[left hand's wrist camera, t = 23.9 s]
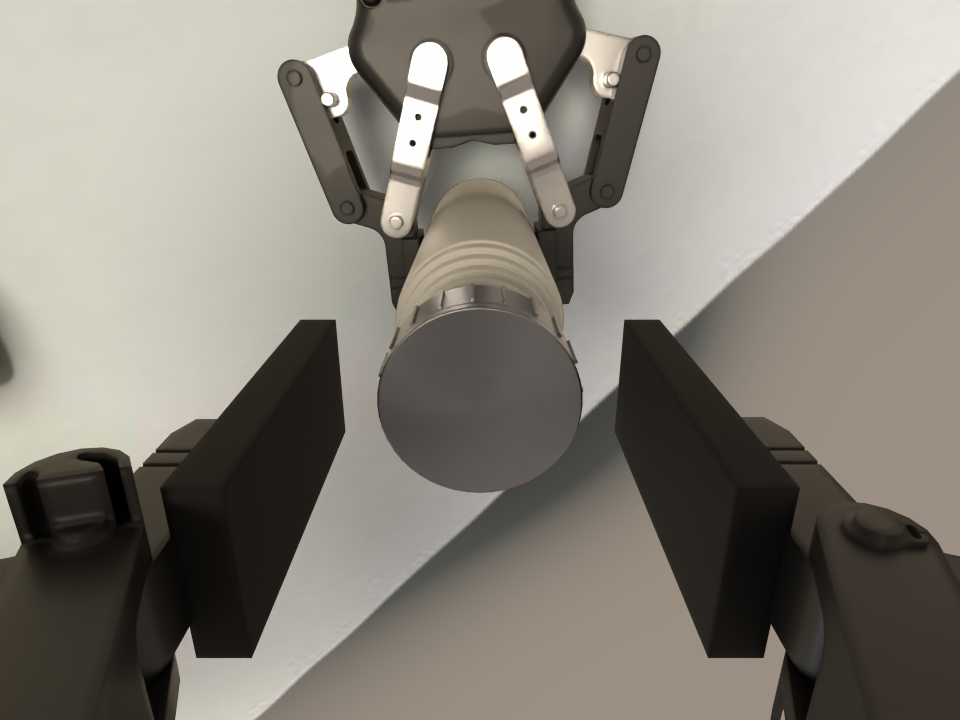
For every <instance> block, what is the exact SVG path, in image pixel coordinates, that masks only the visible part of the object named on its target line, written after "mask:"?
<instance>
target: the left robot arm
mask: <svg viewBox="0 0 960 720" xmlns="http://www.w3.org/2000/svg"><path fill="white" fill-rule="evenodd" d="M615 433H616V436H617V438H618V441H619V443H620V445H621V448H622V450H623V453H624V455H625V458H626V460H627V462H628V465H629V467H630V470H631V472H632V475H633V477H634V479H635V482H636V484H637V487H638V489H639V492H640V494H641V496H642V499H643V501H644V504H645V506H646V508H647V511H648V513H649V516H650V518H651V521H652V523H653V525H654V528H655V530H656V533H657V535H658V537H659V540H660V542H661V545H662V547H663V550H664V552H665V554H666V557H667V559H668V562H669V564H670V566H671V569H672V571H673V574H674V576H675V579H676V581H677V583H678V586H679V588H680V591H681V593H682V596H683V598H684V600H685V603H686V605H687V608H688V610H689V612H690V615H691V617H692V620H693V622H694V625H695V627H696V629H697V632H698V634H699V637H700V639H701V641H702V644H703V646H704V649H705V651H706V654H707V656H708V658H763V657H764V653H765V649H766V644H767V639H768V635H769V630H770V626H771V625H772V626H773V628H774V630H775V632H776V634H777V635H778V637H779V639H780V641H781V643H782V644H783V646H784V648H785V650H786V652H785V656H784V660H783V665H782V669H781V673H780V678H779V682H778V686H777V691H776V695H775V699H774V704H773V708H772V714H771V720H780V719H781V715H782V711H783V710H784V714H785V720H960V556H955V555H950V554H946V553H943V551H942V549H941V547H940V545H939V543H938V542H937V541H936V540H935V539H934V538H933V536H932V535H931V534H930V533H929V532H928V530H926V529H925V528H923V527H922V526H920V525H919V524H917V523H916V522H914V521H913V520H911V519H910V518H908V517H905V516H903V515H901V514H898V513H896V512H894V511H891V510H889V509H886V508H882V507H878V506H874V505H870V504H866V503H857V502H856V501H855V500H854V499H853V498H852V497H851V496H850V495H849V494H848V493H847V492H846V491H845V490H844V488H843V487H842V486H841V485H840V484H839V483H838V482H837V481H836V480H835V479H834V478H833V477H832V476H831V475H830V474H829V473H828V472H827V471H826V470H825V468H824V467H823V466H822V465H818V464H817V460H816V459H815V458H814V457H813V456H812V455H811V454H810V453H809V452H808V451H805V449H804V446H803V445H802V444H801V443H800V442H799V441H798V440H797V439H796V438H795V437H794V436H793V435H792V434H791V433H790V432H789V431H788V430H786V429H784V428H783V427H781V426H779V425H777V424H775V423H774V422H772V421H770V420H768V419H766V418H764V417H740V415H739V414H738V413H737V412H736V411H735V409H734V408H733V407H732V406H731V405H730V403H729V402H728V401H727V400H726V399H725V397H724V396H723V395H722V394H721V393H720V392H719V390H718V389H717V388H716V387H715V386H714V384H713V383H712V382H711V381H710V380H709V378H708V377H707V376H706V375H705V374H704V372H703V371H702V370H701V369H700V368H699V367H698V365H697V364H696V363H695V362H694V360H693V359H692V358H691V357H690V356H689V355H688V353H687V352H686V351H685V350H684V349H683V347H682V346H681V345H680V344H679V343H678V341H677V340H676V339H675V338H674V337H673V335H672V334H671V333H670V332H669V331H668V329H667V328H666V327H665V326H664V325H663V323H662V322H661V321H660V320H624V331H623V342H622V353H621V365H620V376H619V388H618V399H617V411H616V422H615ZM344 434H345V422H344V410H343V399H342V388H341V376H340V365H339V353H338V342H337V331H336V320H300V321H299V322H298V324H297V325H296V326H295V327H294V328H293V329H292V331H291V332H290V333H289V334H288V335H287V337H286V338H285V339H284V340H283V341H282V343H281V344H280V345H279V346H278V347H277V349H276V350H275V351H274V352H273V353H272V355H271V356H270V357H269V358H268V359H267V360H266V362H265V363H264V364H263V365H262V366H261V368H260V369H259V370H258V371H257V372H256V374H255V375H254V376H253V377H252V378H251V380H250V381H249V382H248V383H247V384H246V386H245V387H244V388H243V389H242V390H241V392H240V393H239V394H238V395H237V396H236V397H235V399H234V400H233V401H232V402H231V403H230V405H229V406H228V407H227V408H226V409H225V411H224V412H223V413H222V414H221V415H220V417H219V418H218V419H196V420H194V421H192V422H191V423H189V424H187V425H185V426H184V427H182V428H180V429H178V430H176V431H175V432H173V433H171V434H170V435H169V436H168V437H167V439H166V440H165V441H164V442H163V443H162V444H161V445H160V446H159V447H158V448H157V449H156V453H152V454H151V456H150V457H149V458H148V459H147V460H146V461H145V462H144V463H143V467H139V468H138V469H137V470H136V471H135V472H134V474H133V471H132V466H131V462H130V458H129V456H128V455H126V454H125V453H123V452H122V451H120V450H115V449H109V448H85V449H78V450H73V451H68V452H64V453H59V454H56V455H53V456H50V457H47V458H45V459H42V460H39V461H36V462H34V463H32V464H30V465H28V466H27V467H25V468H23V469H21V470H20V471H18V472H16V473H15V474H14V475H12V476H11V477H10V478H9V479H8V480H7V481H6V482H5V483H4V484H3V487H4V491H5V494H6V497H7V500H8V503H9V506H10V509H11V512H12V515H13V519H14V522H15V525H16V528H17V531H18V534H19V537H20V540H21V543H22V545H21V546H20V548H19V550H18V552H17V554H16V556H14V557H10V558H5V559H0V720H175V715H176V708H177V700H178V692H179V684H180V677H179V670H178V665H177V660H176V656H175V651H176V650H177V648H178V646H179V644H180V642H181V641H182V639H183V637H184V635H185V633H186V632H187V630H188V628H189V626H190V630H191V635H192V639H193V644H194V649H195V653H196V658H252V656H253V654H254V651H255V649H256V646H257V644H258V642H259V639H260V637H261V634H262V632H263V629H264V627H265V625H266V622H267V620H268V617H269V615H270V612H271V610H272V608H273V605H274V603H275V600H276V598H277V596H278V593H279V591H280V588H281V586H282V583H283V581H284V579H285V576H286V574H287V571H288V569H289V567H290V564H291V562H292V559H293V557H294V554H295V552H296V550H297V547H298V545H299V542H300V540H301V538H302V535H303V533H304V530H305V528H306V525H307V523H308V521H309V518H310V516H311V513H312V511H313V508H314V506H315V504H316V501H317V499H318V496H319V494H320V492H321V489H322V487H323V484H324V482H325V479H326V477H327V475H328V472H329V470H330V467H331V465H332V463H333V460H334V458H335V455H336V453H337V450H338V448H339V446H340V443H341V441H342V438H343V436H344Z"/></svg>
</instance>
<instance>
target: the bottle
mask: <svg viewBox="0 0 960 720" xmlns="http://www.w3.org/2000/svg"><path fill="white" fill-rule="evenodd" d="M471 283H475V285H487V286H496V287H502V285H503V286H506V289H509V290H512V291H515V292H518V293H520V294H522V295H524V296H526V297H528V298H530V297H532V298H534V301H535V302H536V303H537V304H539V305H540V306H541V307H542V308H543V309H544V310H545V311H547V312H548V313H549V314H550V316H551V317H553V316H555V317H556V319H557V322H558V325H559V327H560V329H561V331H562V332H563V324H564V314H563V305H562V301H561V297H560V294H559V291H558V289H557V286H556V284H555V282H554V279H553V277H552V274H551V272H550V270H549V267H548V265H547V263H546V260H545V258H544V255H543V253H542V251H541V248H540V246H539V244H538V241H537V239H536V237H535V234H534V232H533V229H532V227H531V225H530V222H529V220H528V218H527V215H526V213H525V211H524V208H523V206H522V204H521V202H520V200H519V199H518V198H517V196H516V195H515V194H514V193H513V192H512V191H511V190H510V189H509V188H507V187H506V186H504V185H503V184H501V183H498V182H496V181H493V180H489V179H471V180H467V181H464V182H461V183H459V184H457V185H456V186H454V187H453V188H451V189H450V190H449V191H448V192H447V193H446V194H445V195H444V196H443V198H442V199H441V200H440V202H439V204H438V206H437V208H436V210H435V213H434V215H433V217H432V220H431V222H430V225H429V227H428V229H427V232H426V234H425V236H424V239H423V241H422V243H421V246H420V248H419V250H418V253H417V255H416V258H415V260H414V262H413V265H412V267H411V269H410V272H409V274H408V276H407V279H406V281H405V283H404V286H403V288H402V291H401V294H400V296H399V300H398V305H397V313H396V325H397V327H399V328H400V327H401V326H402V324H403V323H404V321H405V320H406V319H407V318H408V317H409V315H410V314H411V313H412V312H413V310H414V307H415V306H416V305H418V306H420V305H421V304H423V303H424V302H426V301H427V300H429V299H430V298H432V297H434V296H436V295H438V294H440V291H441V290H444V291H448V290H451V289H454V288H459V287H464V286H470V285H471Z"/></svg>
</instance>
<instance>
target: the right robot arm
mask: <svg viewBox="0 0 960 720" xmlns="http://www.w3.org/2000/svg"><path fill="white" fill-rule="evenodd" d="M660 53H661V51H660V46H659V44H658V42H657V41H656V40H655V39H654V38H653V37H651V36H648V35H642V36H638V37H634V38H626V37H621V36H617V35H612V34H608V33H603V32H599V31H594V30H590V29H586V27H585V22H584V19H583V17H582V15H581V13H580V11H579V10H578V8H577V6H576V3H575V0H357V8H356V16H355V20H354V24H353V27H352V29H351V32H350V34H349V39H348V46H346V47H344V48H341V49H339V50H336V51H333V52H331V53H328V54H326V55H323V56H320V57H318V58H315V59H313V60H310V61H307V62H303V61H299V60H288V61H285V62H284V63H283V64H282V65H281V66H280V68H279V70H278V82H279V85H280V87H281V90H282V92H283V95H284V97H285V99H286V102H287V104H288V107H289V109H290V111H291V114H292V116H293V119H294V121H295V123H296V126H297V128H298V131H299V133H300V135H301V138H302V140H303V143H304V145H305V148H306V150H307V152H308V155H309V157H310V160H311V162H312V164H313V167H314V169H315V172H316V174H317V176H318V179H319V181H320V184H321V186H322V188H323V191H324V193H325V196H326V198H327V200H328V203H329V205H330V208H331V210H332V212H333V215H334V216H335V218H336V219H337V220H338V221H340V222H342V223H345V224H353V223H355V224H358V225H362V226H365V227H368V228H371V229H374V230H376V231H377V232H378V233H379V234H380V235H381V236H382V238H383V240H384V242H385V246H386V255H387V263H388V271H389V278H390V288H391V297H392V303H393V305H394V307H395V309H396V310H397V305H398V300H399V296H400V294H401V291H402V288H403V286H404V283H405V281H406V279H407V276H408V274H409V272H410V269H411V267H412V265H413V262H414V260H415V258H416V255H417V253H418V250H419V248H420V246H421V243H422V241H423V239H424V230H423V229H418V223H417V216H418V211H419V207H420V203H421V198H422V194H423V190H424V185H425V181H426V177H427V174H428V170H429V166H430V162H431V158H432V154H433V150H434V149H441V148H453V147H455V146H458V145H461V144H464V143H467V142H469V141H479V142H484V143H488V144H493V145H499V144H514V143H515V145H516V148H517V150H518V153H519V156H520V158H521V161H522V163H523V166H524V168H525V171H526V173H527V176H528V179H529V181H530V184H531V187H532V189H533V192H534V195H535V197H536V200H537V203H538V209H539V222H534V234H535V237H536V239H537V241H538V244H539V246H540V248H541V251H542V253H543V255H544V258H545V260H546V263H547V265H548V267H549V270H550V272H551V274H552V277H553V279H554V282H555V284H556V286H557V289H558V291H559V294H560V297H561V301H562V304H569V302H570V299H571V297H572V294H573V292H574V288H573V229H574V226H575V224H576V222H577V221H578V220H579V219H580V218H581V217H582V216H584V215H586V214H588V213H590V212H592V211H595V210H597V209H599V208H610V207H613V206H614V205H616V204H617V203H618V202H619V201H620V199H621V198H622V195H623V191H624V187H625V184H626V180H627V176H628V173H629V169H630V165H631V162H632V158H633V154H634V151H635V147H636V143H637V140H638V136H639V132H640V129H641V125H642V122H643V118H644V114H645V111H646V107H647V103H648V100H649V96H650V92H651V89H652V85H653V81H654V78H655V74H656V70H657V67H658V63H659V59H660ZM578 59H581V60H582V61H584V62H585V63H586V65H587V66H588V69H589V72H590V78H589V85H590V89H591V91H592V92H593V93H594V94H595V95H596V96H598V97H600V98H603V99H602V103H601V107H600V111H599V115H598V119H597V123H596V127H595V131H594V135H593V139H592V143H591V147H590V151H589V156H588V160H587V164H586V168H585V172H584V175H583V176H580V177H578V178H576V179H574V180H572V181H569V182H566V179H565V176H564V173H563V171H562V168H561V165H560V161H559V157H558V153H557V150H556V147H555V145H554V142H553V139H552V136H551V133H550V131H549V128H548V125H547V122H546V119H545V116H544V113H545V111H546V110H547V108H548V106H549V105H550V103H551V102H552V100H553V98H554V97H555V95H556V94H557V92H558V90H559V89H560V87H561V86H562V84H563V82H564V81H565V79H566V78H567V76H568V74H569V73H570V71H571V70H572V68H573V66H574V65H575V63H576V61H577V60H578ZM358 75H360V76H361V77H362V78H363V80H364V81H365V82H366V83H367V85H368V86H369V87H370V88H371V89H372V91H373V92H374V93H375V94H376V95H377V97H378V98H379V99H380V100H381V102H382V103H383V104H384V105H385V106H386V108H387V109H388V110H389V111H390V112H391V114H392V115H393V116H394V117H395V119H396V120H397V121H398V122H399V128H398V132H397V137H396V142H395V147H394V151H393V156H392V161H391V166H390V177H389V182H388V187H387V192H386V194H383V193H380V192H376V191H373V190H370V188H369V186H368V183H367V180H366V178H365V175H364V173H363V170H362V168H361V165H360V162H359V160H358V157H357V155H356V152H355V150H354V147H353V145H352V142H351V139H350V137H349V134H348V132H347V129H346V127H345V124H344V121H343V119H342V116H344V115H345V114H347V113H348V112H349V111H350V109H351V107H352V95H351V84H352V81H353V80H354V78H355V77H356V76H358Z"/></svg>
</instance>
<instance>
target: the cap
mask: <svg viewBox="0 0 960 720" xmlns="http://www.w3.org/2000/svg"><path fill="white" fill-rule="evenodd" d="M389 349H390V351H389V353H386V356H385V359H384V361H383V364H382V367H381V369H380V372H379V377H380V380H379V386H378V394H377V406H378V413H379V418H380V422H381V426H382V429H383V431H384V433H385V436H386V438H387V440H388V442H389V443H390V445H391V446H392V448H393V450H394V451H395V452H396V453H397V455H398V456H399V457H400V458H401V460H402V461H404V462H405V463H406V464H407V465H408V466H409V467H410V468H411V469H412V470H414V471H415V472H416V473H418V474H419V475H421V476H422V477H424V478H426V479H428V480H429V481H431V482H434V483H436V484H438V485H441V486H443V487H447V488H450V489H454V490H459V491H465V492H477V493H483V492H495V491H501V490H506V489H510V488H513V487H517V486H519V485H521V484H524V483H526V482H529V481H530V480H532V479H534V478H536V477H538V476H539V475H541V474H542V473H543V472H545V471H546V470H548V469H549V468H550V467H551V466H552V465H553V464H554V463H555V462H556V461H557V460H558V459H559V458H560V457H561V456H562V454H563V453H564V452H565V451H566V449H567V448H568V446H569V445H570V443H571V441H572V440H573V437H574V435H575V433H576V431H577V428H578V425H579V421H580V418H581V412H582V392H583V388H582V385H581V381H580V378H579V374H578V371H577V368H576V365H575V364H576V363H578V362H577V359H576V357H575V354H574V351H573V349H572V346H571V343H570V341H569V340H568V341H566V339H565V337H564V334H563V332H562V331H561V329H560V327H559V325H558V322H557V319H556V317H555V316H553V317H551V316H550V314H549V313H548V312H547V311H545V310H544V309H543V308H542V307H541V306H540V305H539V304H537V303H536V302H535V301H534V298H532V297H530V298H528V297H526V296H524V295H522V294H520V293H518V292H515V291H512V290H509V289H506V286H503V285H502V287H496V286H487V285H475V283H471V285H470V286H464V287H459V288H454V289H451V290H448V291H444V290H441V291H440V294H438V295H436V296H434V297H432V298H430V299H429V300H427V301H426V302H424V303H423V304H421V305H420V306H418V305H416V306H415V307H414V310H413V312H412V313H411V314H410V315H409V317H408V318H407V319H406V320H405V321H404V323H403V324H402V326H401V327H400V328H399V327H397V328H396V330H395V333H394V336H393V338H392V341H391V344H390V346H389Z"/></svg>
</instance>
